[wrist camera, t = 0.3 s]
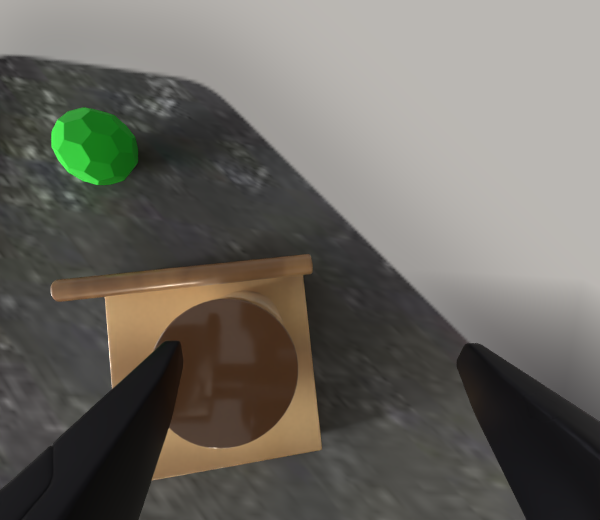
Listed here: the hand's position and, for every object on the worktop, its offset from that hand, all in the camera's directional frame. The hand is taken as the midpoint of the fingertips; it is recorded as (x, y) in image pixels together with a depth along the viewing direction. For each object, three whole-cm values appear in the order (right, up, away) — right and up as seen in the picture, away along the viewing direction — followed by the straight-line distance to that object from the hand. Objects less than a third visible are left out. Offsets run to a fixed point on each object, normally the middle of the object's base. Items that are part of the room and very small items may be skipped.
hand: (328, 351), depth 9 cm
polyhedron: (-15, +11, +14) cm, 23 cm away
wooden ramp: (-7, -5, +14) cm, 16 cm away
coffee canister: (-5, -2, +12) cm, 13 cm away
